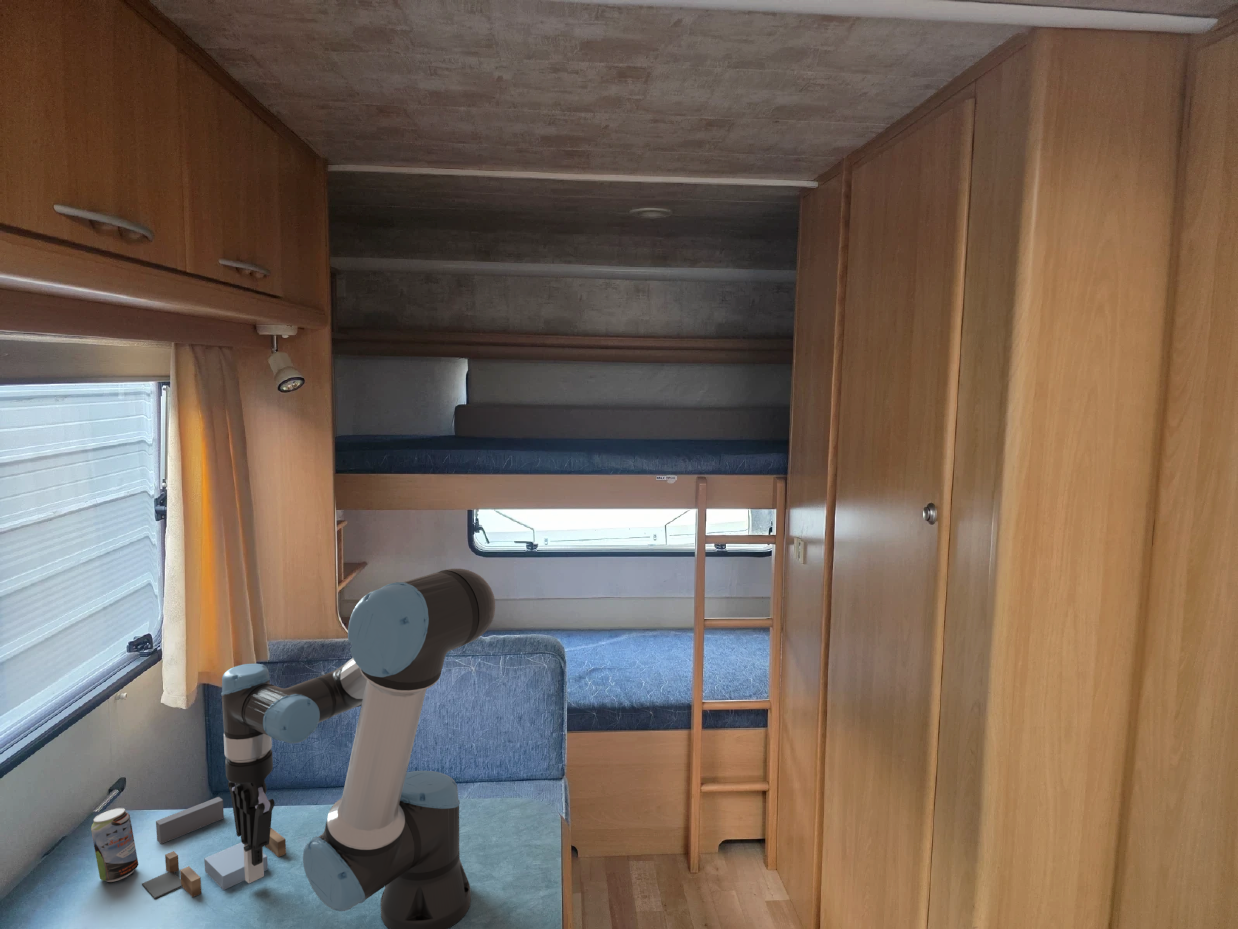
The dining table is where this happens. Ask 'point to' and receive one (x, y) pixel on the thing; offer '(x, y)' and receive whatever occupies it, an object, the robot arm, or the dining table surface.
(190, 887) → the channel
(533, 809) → the dining table surface
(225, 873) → the block
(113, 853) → the beverage can
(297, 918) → the dining table surface
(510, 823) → the dining table surface
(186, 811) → the end block
